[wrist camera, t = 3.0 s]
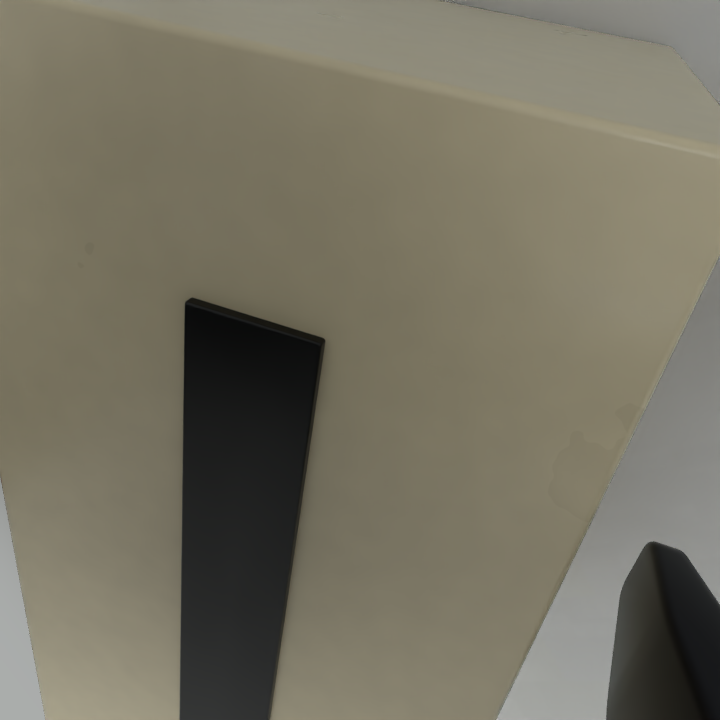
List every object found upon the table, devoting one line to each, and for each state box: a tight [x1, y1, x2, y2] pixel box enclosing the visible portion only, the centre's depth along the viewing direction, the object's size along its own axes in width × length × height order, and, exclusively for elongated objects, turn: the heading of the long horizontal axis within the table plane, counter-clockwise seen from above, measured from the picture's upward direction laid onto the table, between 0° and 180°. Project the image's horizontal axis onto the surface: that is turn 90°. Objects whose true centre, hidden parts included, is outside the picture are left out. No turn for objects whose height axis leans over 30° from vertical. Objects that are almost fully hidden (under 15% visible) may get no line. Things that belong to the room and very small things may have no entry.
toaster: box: [0, 0, 720, 720], centre depth 10 cm, size 6×11×7 cm, turn 171°
